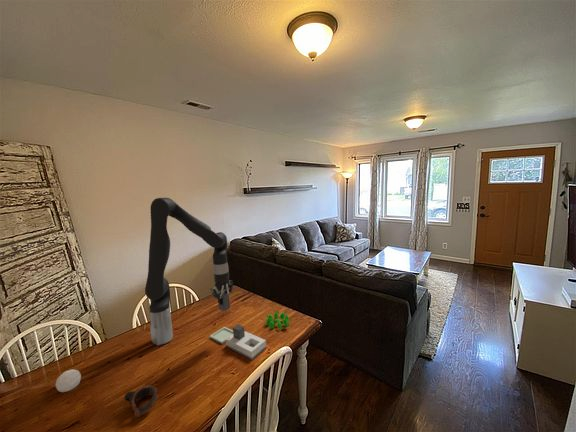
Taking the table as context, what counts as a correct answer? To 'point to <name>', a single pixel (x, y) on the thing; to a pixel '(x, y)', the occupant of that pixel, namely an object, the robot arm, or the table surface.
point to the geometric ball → (68, 380)
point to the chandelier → (277, 320)
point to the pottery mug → (139, 395)
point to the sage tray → (221, 335)
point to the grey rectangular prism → (225, 302)
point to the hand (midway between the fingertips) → (223, 302)
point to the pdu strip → (245, 342)
